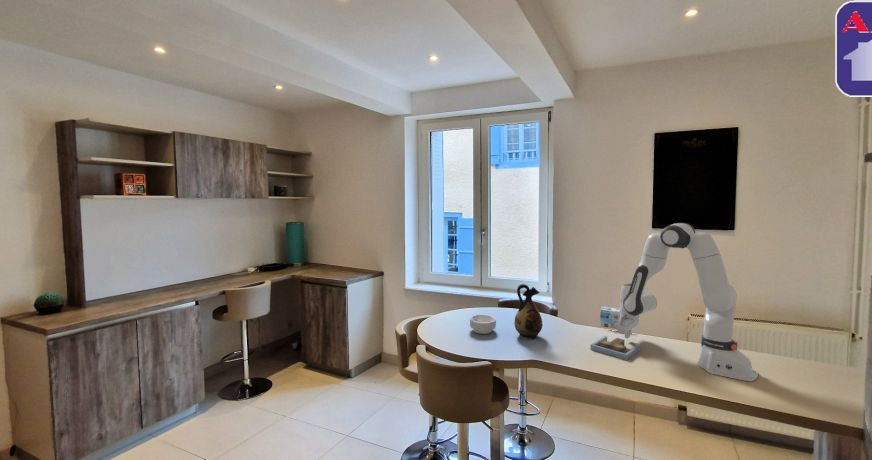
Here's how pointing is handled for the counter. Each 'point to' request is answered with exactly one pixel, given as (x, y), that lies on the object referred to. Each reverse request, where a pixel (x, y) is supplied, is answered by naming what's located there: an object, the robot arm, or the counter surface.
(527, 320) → the ceramic jug
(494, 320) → the white stone bowl
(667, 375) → the counter surface
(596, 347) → the docking bay
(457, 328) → the counter surface
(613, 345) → the walnut T block
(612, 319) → the light bulb box
